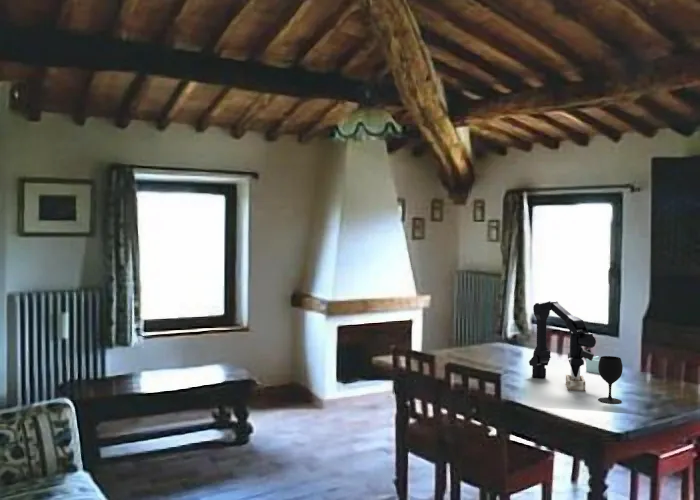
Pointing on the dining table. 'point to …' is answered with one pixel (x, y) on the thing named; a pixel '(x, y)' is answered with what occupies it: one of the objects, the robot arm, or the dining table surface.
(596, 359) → the l-shaped corner panel
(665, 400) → the dining table surface
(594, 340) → the robot arm
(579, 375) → the light grey rectangular block
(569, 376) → the beige tray
